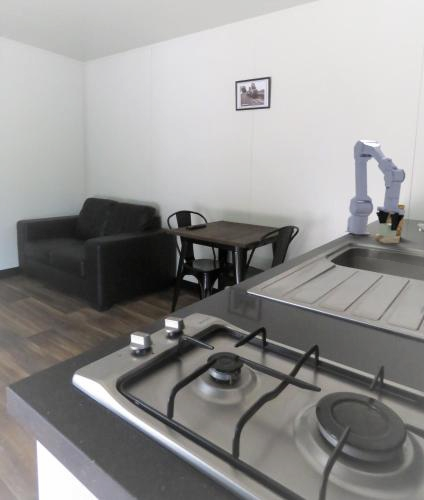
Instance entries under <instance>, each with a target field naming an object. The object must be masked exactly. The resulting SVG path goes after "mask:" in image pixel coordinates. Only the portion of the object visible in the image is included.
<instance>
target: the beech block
mask: <svg viewBox="0 0 424 500" xmlns="http://www.w3.org/2000/svg"><path fill="white" fill-rule="evenodd" d="M400 238H401V237H398V236H396V237H385V236H381V235H378V233H376V234H374V241H375V240H376V242H380V243H382V242H383V243H382V244H399V243H400Z"/></svg>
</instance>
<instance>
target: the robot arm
mask: <svg viewBox="0 0 424 500" xmlns="http://www.w3.org/2000/svg"><path fill="white" fill-rule="evenodd" d="M353 159H354V171H355V172H354V175H355V176H354V179H355V182H354V183H355V185H354V186H355V196H353V197H351V199H350V201H349V202H350V203H349V208H348V210H349V214H350V216H349V217H348V219H347V226H346V230H345V231H344V232H346V233H349V234H354V235H358V236H359V235H360V236H361V235H371V232H367V230H368V223H369V217H370V215H371V214H372V213H373V210H374V204H373V199H372V198H371V197H370V195H368V170H367V169H368V168H367V167H368V166H367V165H368V162H369V161H370V160H372V159H374V160H375V161H376V162H377V163H378V164H377V167H378V169H379V170H380V172H381V173H382V174H383V181H384V187H385V193H384V200H383V206H377V207H376V213H375V214H376V216H377V218H378V222H379V224H380V223H386V221H387V218H388V215H389V214H390V213H394V214H390V217H391V230H392V231H396V230H397V227H398V225H399V223H400V221H401V220H402V218H403V219H404V217H405V211H406V210H405V209H404V210H402V209H398V204H400V196H401V186H402V183H403V182H404V181H405V179H406V171H405V170H404V169H403V168H398V166H397V165H396V164H395V163H394V162H393V159H392V158H389V157H386V156H385V154H384V152H383V151H382V150H381V144H380V143H379V141H377V140H362V139H359V140H357V142H356V143H355V144H354V146H353ZM386 210H388V211H386ZM391 211H392V212H391ZM379 224H378V225H379Z"/></svg>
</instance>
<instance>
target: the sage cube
mask: <svg viewBox="0 0 424 500" xmlns="http://www.w3.org/2000/svg"><path fill="white" fill-rule="evenodd" d="M378 225H379V226H378V233H377V234H378V235H381V236H385V237H396V231H392V230H391V224H390V223H380V224H378Z"/></svg>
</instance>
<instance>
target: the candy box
mask: <svg viewBox="0 0 424 500" xmlns="http://www.w3.org/2000/svg"><path fill="white" fill-rule="evenodd" d="M405 207H406V206H405V204H400V203H399V204H398V209H402V210H405ZM386 211H388V210H386ZM391 212H392V211H391ZM390 214H394V213H390ZM390 214H389V215H388V218H387V221H386V223H390V224H391V217H390ZM403 223H404V217H403V218H402V220H401V221H400V223H399V225H398V227H397V230H396V236H398V237H400V238H402V232H403Z"/></svg>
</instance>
